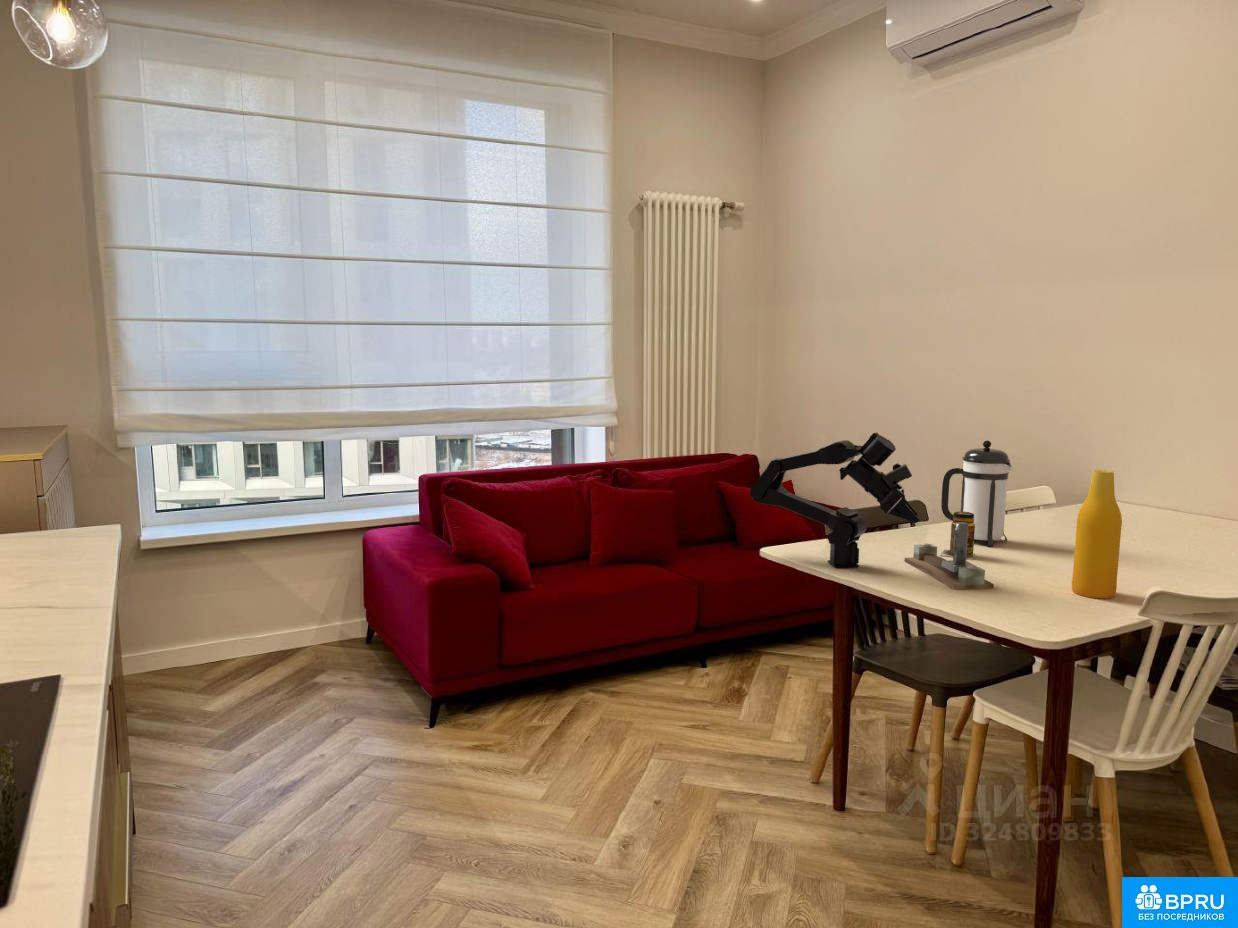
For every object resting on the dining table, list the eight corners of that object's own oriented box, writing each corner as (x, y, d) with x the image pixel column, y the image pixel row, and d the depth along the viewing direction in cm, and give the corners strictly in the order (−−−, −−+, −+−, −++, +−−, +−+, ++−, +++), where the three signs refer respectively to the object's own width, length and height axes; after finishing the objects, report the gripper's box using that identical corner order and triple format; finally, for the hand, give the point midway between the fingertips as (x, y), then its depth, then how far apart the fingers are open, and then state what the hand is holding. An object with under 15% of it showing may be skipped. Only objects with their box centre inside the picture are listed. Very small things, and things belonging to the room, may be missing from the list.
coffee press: (997, 535, 267) (1004, 437, 263) (1015, 547, 251) (1023, 443, 247) (938, 534, 269) (944, 436, 264) (953, 546, 253) (959, 442, 249)
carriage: (953, 572, 213) (956, 526, 211) (941, 566, 219) (944, 521, 217) (976, 571, 213) (979, 525, 212) (964, 565, 219) (967, 520, 218)
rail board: (954, 589, 208) (955, 569, 208) (904, 561, 235) (905, 543, 234) (993, 588, 210) (995, 568, 209) (939, 560, 236) (940, 542, 235)
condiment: (972, 559, 237) (975, 516, 236) (939, 555, 241) (942, 513, 240) (976, 554, 244) (978, 511, 242) (944, 550, 248) (946, 508, 246)
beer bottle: (1101, 587, 210) (1111, 468, 206) (1124, 599, 201) (1135, 474, 197) (1063, 588, 210) (1072, 468, 206) (1084, 599, 201) (1095, 474, 197)
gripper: (891, 457, 213) (942, 500, 211) (890, 451, 231) (937, 491, 229) (859, 491, 216) (909, 533, 214) (861, 483, 234) (907, 522, 232)
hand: (917, 518), depth 222 cm, fingers open, 9 cm apart
